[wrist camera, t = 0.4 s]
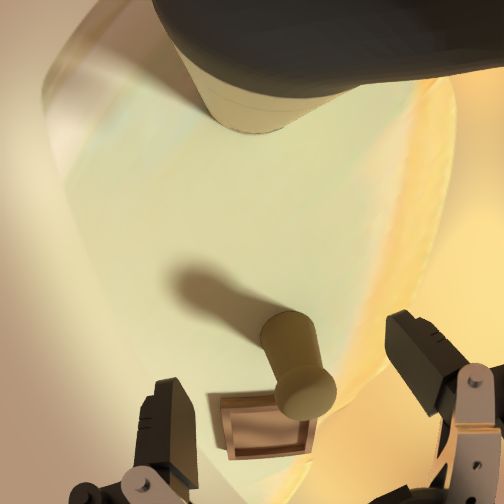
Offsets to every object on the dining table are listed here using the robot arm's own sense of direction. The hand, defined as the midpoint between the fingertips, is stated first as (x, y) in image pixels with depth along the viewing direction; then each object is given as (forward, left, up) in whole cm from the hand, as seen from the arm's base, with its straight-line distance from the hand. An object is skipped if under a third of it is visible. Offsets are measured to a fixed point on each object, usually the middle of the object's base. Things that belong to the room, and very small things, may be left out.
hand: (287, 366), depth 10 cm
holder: (+26, +1, -19) cm, 32 cm away
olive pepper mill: (+11, +3, -19) cm, 22 cm away
